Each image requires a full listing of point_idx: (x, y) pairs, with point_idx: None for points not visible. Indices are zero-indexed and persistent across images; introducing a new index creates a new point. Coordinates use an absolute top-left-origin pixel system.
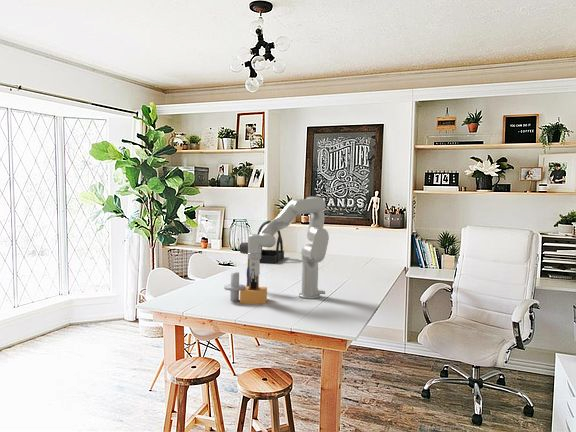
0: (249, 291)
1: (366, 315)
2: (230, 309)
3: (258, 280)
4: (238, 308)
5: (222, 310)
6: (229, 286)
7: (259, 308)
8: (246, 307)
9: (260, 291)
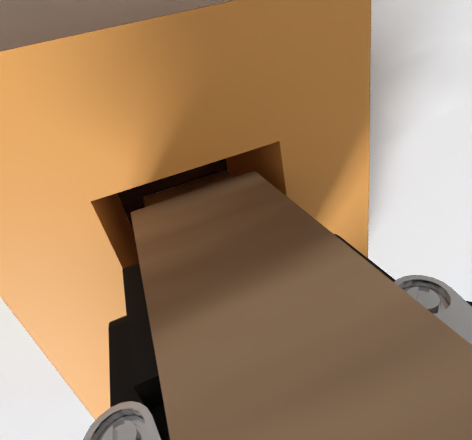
0: (366, 240)
1: None
2: (444, 227)
3: (228, 314)
4: (423, 193)
5: (461, 255)
6: None
7: (422, 13)
8: (397, 150)
9: (356, 81)
